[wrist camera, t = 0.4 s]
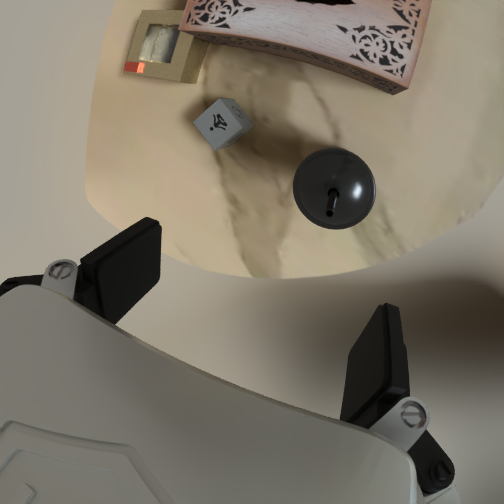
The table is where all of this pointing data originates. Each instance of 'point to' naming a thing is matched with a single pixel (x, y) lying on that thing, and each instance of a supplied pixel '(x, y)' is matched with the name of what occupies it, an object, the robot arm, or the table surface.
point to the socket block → (165, 48)
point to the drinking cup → (334, 188)
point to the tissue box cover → (321, 33)
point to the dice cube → (223, 123)
